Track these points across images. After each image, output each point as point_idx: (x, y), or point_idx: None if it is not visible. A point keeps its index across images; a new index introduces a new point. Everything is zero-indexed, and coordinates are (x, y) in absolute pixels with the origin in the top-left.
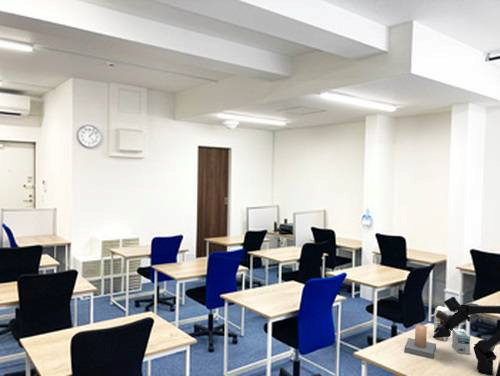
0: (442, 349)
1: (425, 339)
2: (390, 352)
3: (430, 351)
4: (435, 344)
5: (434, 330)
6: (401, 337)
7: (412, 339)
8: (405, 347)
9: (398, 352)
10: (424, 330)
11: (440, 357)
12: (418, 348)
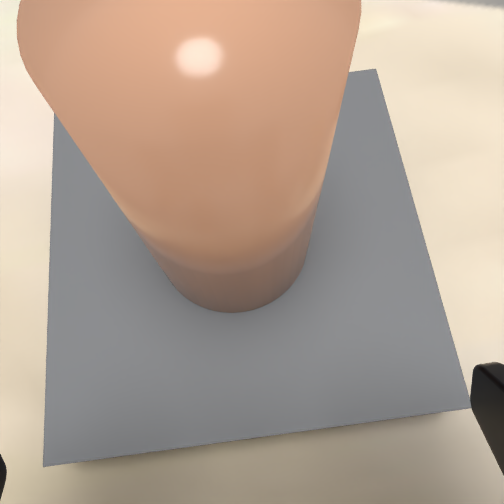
0: (499, 497)
1: (182, 270)
2: (2, 59)
3: (101, 406)
4: (435, 407)
5: (499, 370)
6: (451, 26)
7: (362, 114)
8: (54, 121)
9: (44, 108)
10: (91, 153)
11: None
12: (109, 244)
